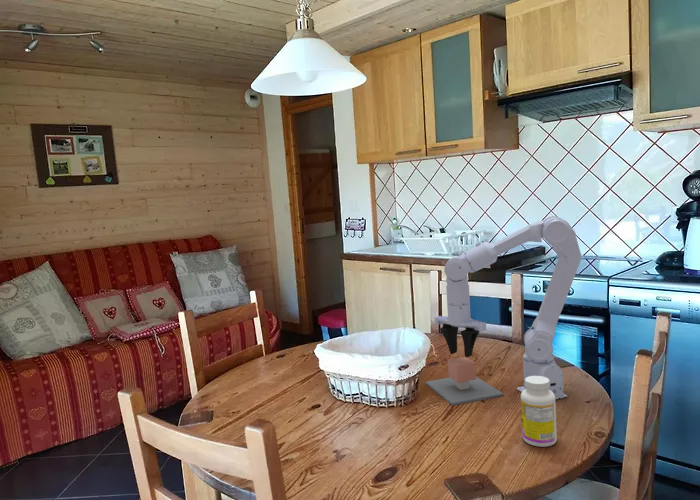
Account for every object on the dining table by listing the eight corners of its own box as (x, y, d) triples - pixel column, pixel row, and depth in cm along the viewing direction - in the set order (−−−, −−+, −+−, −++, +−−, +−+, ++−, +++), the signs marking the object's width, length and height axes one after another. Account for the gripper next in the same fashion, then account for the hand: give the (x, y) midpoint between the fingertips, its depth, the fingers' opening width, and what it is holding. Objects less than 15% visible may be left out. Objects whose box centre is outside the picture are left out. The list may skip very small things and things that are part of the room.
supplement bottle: (529, 430, 110) (527, 371, 109) (561, 437, 106) (559, 376, 104) (517, 442, 105) (514, 381, 103) (550, 451, 100) (548, 387, 99)
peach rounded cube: (476, 379, 133) (475, 362, 132) (457, 382, 131) (456, 365, 131) (466, 373, 138) (465, 356, 137) (448, 376, 136) (447, 359, 136)
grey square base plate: (503, 395, 129) (502, 381, 128) (452, 405, 125) (451, 391, 125) (471, 375, 144) (471, 363, 144) (425, 383, 141) (424, 371, 140)
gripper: (491, 302, 130) (494, 355, 131) (444, 297, 140) (447, 346, 142) (476, 308, 125) (478, 362, 126) (428, 302, 136) (431, 352, 137)
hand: (461, 354), depth 134 cm, fingers open, 4 cm apart
